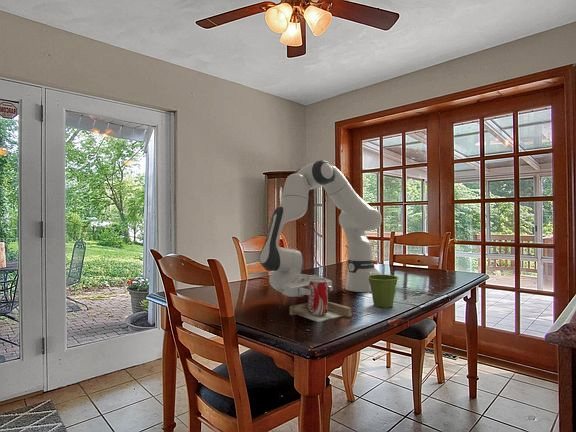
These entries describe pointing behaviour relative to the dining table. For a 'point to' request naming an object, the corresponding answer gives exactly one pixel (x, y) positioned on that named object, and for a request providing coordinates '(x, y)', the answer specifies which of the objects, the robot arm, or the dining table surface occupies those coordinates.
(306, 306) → the wooden stand
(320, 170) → the robot arm
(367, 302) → the dining table surface
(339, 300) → the dining table surface
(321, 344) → the dining table surface
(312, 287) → the soda can
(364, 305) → the dining table surface
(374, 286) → the plant pot
